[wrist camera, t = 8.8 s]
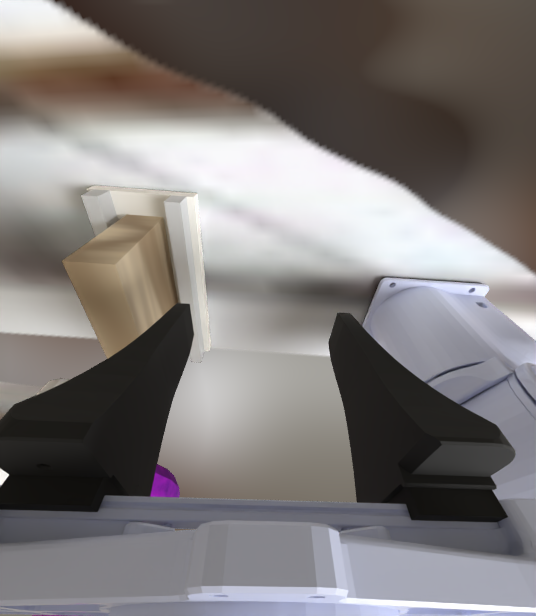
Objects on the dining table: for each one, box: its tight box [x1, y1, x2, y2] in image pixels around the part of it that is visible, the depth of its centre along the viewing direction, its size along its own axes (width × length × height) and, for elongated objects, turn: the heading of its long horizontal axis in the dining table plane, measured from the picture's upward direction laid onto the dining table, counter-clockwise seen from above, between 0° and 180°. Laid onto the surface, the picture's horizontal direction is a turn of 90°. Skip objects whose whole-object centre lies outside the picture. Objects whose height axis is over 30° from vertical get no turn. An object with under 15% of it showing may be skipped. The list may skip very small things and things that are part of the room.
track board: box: [81, 185, 211, 363], centre depth 21 cm, size 7×15×2 cm, turn 176°
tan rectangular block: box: [62, 214, 178, 359], centre depth 19 cm, size 2×12×7 cm, turn 176°
